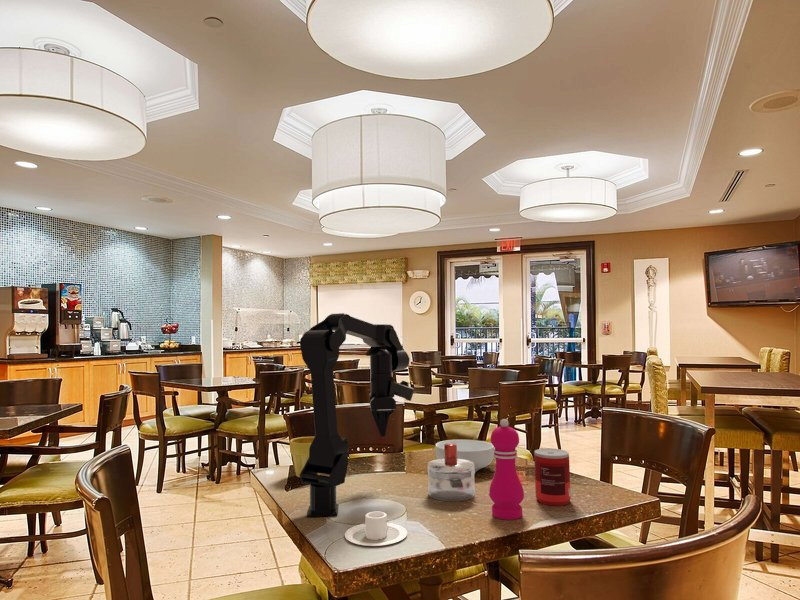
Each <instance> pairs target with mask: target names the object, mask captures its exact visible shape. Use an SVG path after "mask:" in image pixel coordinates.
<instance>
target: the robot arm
mask: <svg viewBox="0 0 800 600" xmlns="http://www.w3.org/2000/svg"><path fill="white" fill-rule="evenodd" d="M347 335H349V336H352V337H356V338H358V339H361V340H362V342H363V343H364V344H365V345H367V346H369V347H370V348H369V350H367V351H366V353H365V355H366V356H367V357H369V362H370V364H369V365H370V367H369V371H370V372H369V374H370V375H369V376H370V377H369V380H370V383H369V384H370V393H369V394H368V401H369V407H370V412H371V415H372V417H373V420H374V422H375V425H376V427H377V430H378V433H379V435H380V437H383V438H385V437H386V434H387V429H388V425H389V424H388V423H389V418H390V416H391V415H392V414H393V413H395V411H396V409H397V402H396V401H397V400H396V399H395V396H396V397H399V398H403V399H405V400H406V401H409V402H412V398H413V395H414V392H415V389H414V387H411V386H410V385H409V382H408V381H405V380H401V382H400V383H399V382H396V381H395V378H394V376H393V372H398V371H403V370H406V369H407V368H408V367H409V364H410V360H411V359H410V355H409V354H408V353H407V352H406V350H404V346H403V345H402V343H401V342H400V339H399V336H398V334H397V331H396V330H395V328H394V326H393V325H392V324H380V323H379V324H376V323H375V324H374V323H371V322H369V321H365V320H363V319H359V318H357V317H354V316H351V315H350V314H347V313H345V312H342V313H341V312H340V313H331V314H329V315H327V316H326V317H325V318H324V319H323V320H322V321H321V322H318V323H317V324H315V325H313V326H311V328H309V329H308V330H307V331H305V332H304V333H303V335H302V337H300V340H299V346H300V351H301V356H302V357H301V358H302V360H303V362H304V364H305V365H306V366H307V369H308V370H309V373H310V382H311V383H310V384H311V394H312V395H311V397H312V409H313V421H314V422H313V424H314V436H313V437H314V439H313V441H312V443H311V445H310V447H309V458H308V460H307V462H306V464H305V466H304V468H303V469H302V471H301V473H300V482H301V484H309V506H308V509H307V513H306V517H309V518H310V517H313V518H314V517H330V516H332V517H334V516H335V517H336V516H338V515H339V504H338V503H337V487H338V486H340V485H343V484H344V483H345V481H346V477H347V476H346V475H347V472H348V471H347V470H348V466H349V457H350V454H349V448H348V447H349V444H348V443H349V442H348V439H347V438H344V437H341V436H340V434H339V431H338V421H337V420H338V419H337V404H336V392H335V379H334V376H335V375H334V369H335V365H336V364H337V362H338V359H339V358H340V348H341V346H342V345H343V344H344V343H345V341H346V340H347ZM318 473H321V474H320V475H317V474H318ZM322 474H323V475H322ZM327 475H329V476H327Z"/></svg>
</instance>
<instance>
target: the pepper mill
mask: <svg viewBox="0 0 800 600" xmlns="http://www.w3.org/2000/svg"><path fill="white" fill-rule="evenodd" d="M499 422H500V423H499V425H500V426H497V427H496V428H494V429H493V430H492V431H491V434H490V443H491V444H492V445H493V446H494V450H493V452H494V454H493V456H494V457H493V458H495V470H494V474H493V476H492V480H491V481H490V485H489V491H488V492H489V493H488V495H489V498H490V500H491V501H492V502H493V504H492V505H491V513H492V516H493V517H494V518H497V519H500V520H510V521H511V520H518V519H521V518H522V516H523V507H522V505H521V503H522V502H523V500H524V498H525V493H524V488H523V484H522V482H521V480H520V478H519V475H518V473H517V469H516V459H517V457H518V454H517V453H518V450H517V449H516V448H517V447H518V446H519V443H520V437H519V434H518V431H516V430H515V428H513V427H512V426H509V424H510V423H509V421H508V419H506V418H502V419H500V421H499Z"/></svg>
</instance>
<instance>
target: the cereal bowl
mask: <svg viewBox="0 0 800 600" xmlns="http://www.w3.org/2000/svg"><path fill="white" fill-rule="evenodd" d="M444 444H457V459H464V460H469V461H472V462H473V463H474V468H475V473H476V472H478V471H479V470H481V469H483V468H486V467H487V466H489V465H490V464H491V463H492V461H493V459H494V458H495V457H494V456H493V454H494V452H493V450H494V449H495V447H494V446H493V445H492V443H491V442H489V441H488V442H487V441H482V440H476V439H446V440H442V441H437V443H435V448H434V449H435V456H436V460H437V459H445V457H444Z"/></svg>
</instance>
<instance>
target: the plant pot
mask: <svg viewBox="0 0 800 600" xmlns="http://www.w3.org/2000/svg"><path fill="white" fill-rule="evenodd" d="M314 437H315V436H301V437H295V438H291V439H290V440H289V453H290V454H291V455H292V461H293V466H294V471H295V472H294V473H295V476H296V477H297V478H300V473H301V471H302V469H303V468H304V466H305V464H306V462H307V460H308V458H309V447H310V445H311V443H312V441H313V439H314ZM317 475H322V474H321V473H318V474H317Z"/></svg>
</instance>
